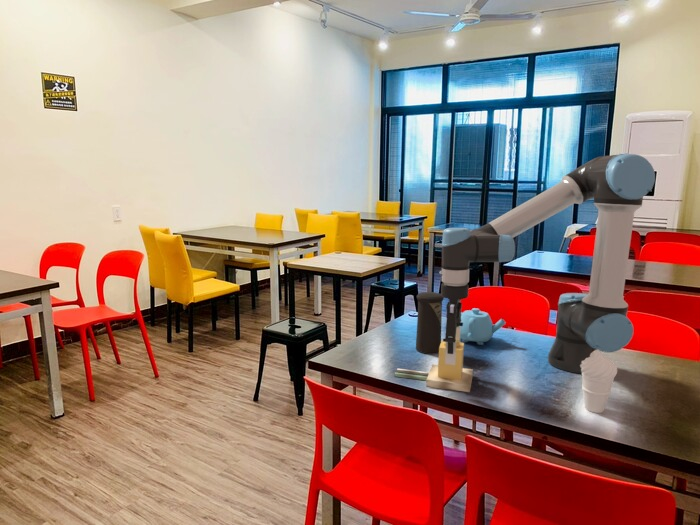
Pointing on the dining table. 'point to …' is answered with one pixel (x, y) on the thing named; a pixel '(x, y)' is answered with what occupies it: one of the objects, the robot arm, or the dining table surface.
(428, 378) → the block
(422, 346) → the container
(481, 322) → the teapot
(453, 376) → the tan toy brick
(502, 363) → the dining table surface
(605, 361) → the soft serve ice cream cone
